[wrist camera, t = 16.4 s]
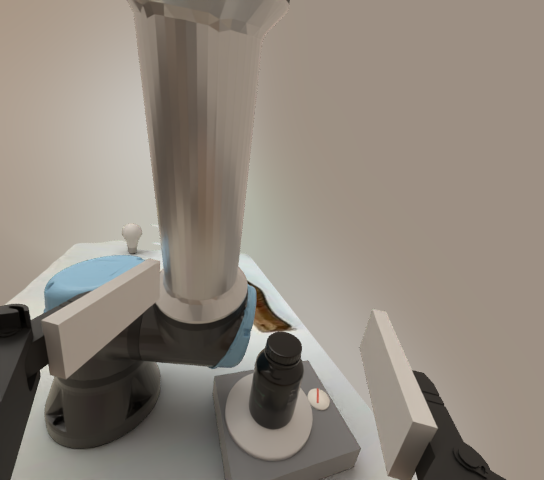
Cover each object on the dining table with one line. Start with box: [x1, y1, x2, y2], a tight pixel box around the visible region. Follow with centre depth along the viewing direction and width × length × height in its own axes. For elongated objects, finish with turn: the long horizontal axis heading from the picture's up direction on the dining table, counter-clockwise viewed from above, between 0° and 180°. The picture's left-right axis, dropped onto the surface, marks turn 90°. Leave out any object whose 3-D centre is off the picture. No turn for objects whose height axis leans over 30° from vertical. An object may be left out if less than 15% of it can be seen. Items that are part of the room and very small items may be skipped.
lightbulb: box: [122, 223, 142, 254], centre depth 88 cm, size 6×6×11 cm
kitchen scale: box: [213, 361, 361, 480], centre depth 40 cm, size 18×16×5 cm
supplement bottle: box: [249, 332, 304, 430], centre depth 36 cm, size 7×7×12 cm
